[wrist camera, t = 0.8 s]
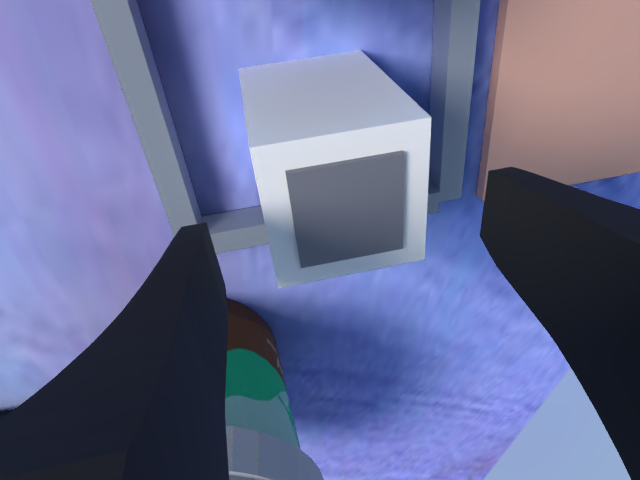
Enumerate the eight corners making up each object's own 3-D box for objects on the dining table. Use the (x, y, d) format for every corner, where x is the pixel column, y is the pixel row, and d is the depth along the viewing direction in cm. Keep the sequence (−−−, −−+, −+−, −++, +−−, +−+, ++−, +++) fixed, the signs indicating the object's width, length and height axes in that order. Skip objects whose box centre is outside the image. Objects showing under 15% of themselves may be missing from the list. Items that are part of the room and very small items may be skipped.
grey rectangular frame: (492, -417, 11) (525, -457, 10) (446, 191, 21) (460, 208, 20) (-28, -384, 10) (-61, -424, 9) (184, 239, 20) (182, 260, 19)
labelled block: (360, 49, 17) (434, 119, 11) (365, 160, 20) (427, 264, 14) (238, 68, 16) (250, 151, 11) (260, 178, 19) (278, 292, 13)
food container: (310, 403, 28) (346, 594, 20) (211, 425, 28) (208, 630, 20) (278, 245, 21) (315, 446, 13) (143, 271, 21) (97, 497, 13)
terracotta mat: (718, -86, 16) (733, -86, 16) (633, 166, 22) (642, 171, 22) (506, -58, 16) (515, -57, 15) (476, 195, 22) (482, 201, 21)
